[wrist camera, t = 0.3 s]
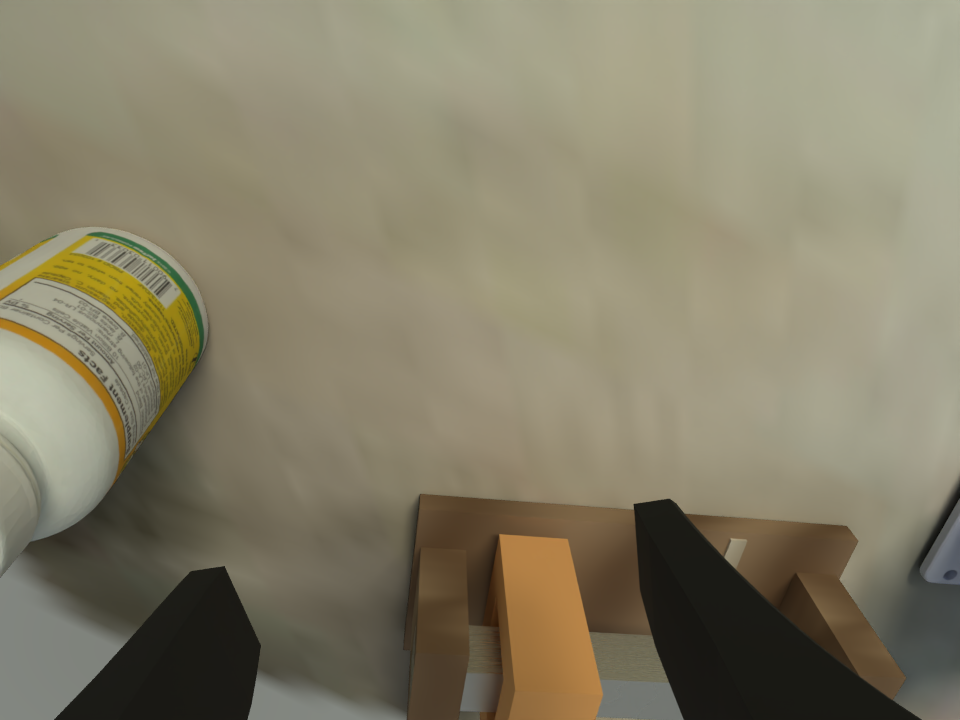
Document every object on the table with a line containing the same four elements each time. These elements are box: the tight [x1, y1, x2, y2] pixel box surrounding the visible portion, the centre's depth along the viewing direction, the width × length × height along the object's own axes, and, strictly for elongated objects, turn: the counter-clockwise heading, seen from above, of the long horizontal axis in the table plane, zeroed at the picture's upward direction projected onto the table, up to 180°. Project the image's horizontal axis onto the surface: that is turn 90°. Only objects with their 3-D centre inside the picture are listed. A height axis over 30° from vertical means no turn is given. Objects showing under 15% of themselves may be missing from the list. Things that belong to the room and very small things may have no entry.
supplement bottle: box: [0, 227, 208, 577], centre depth 16 cm, size 5×5×10 cm
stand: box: [403, 494, 906, 720], centre depth 24 cm, size 16×7×5 cm, turn 83°
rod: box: [409, 625, 684, 720], centre depth 23 cm, size 16×2×2 cm, turn 83°
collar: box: [480, 534, 603, 720], centre depth 22 cm, size 2×6×6 cm, turn 173°
